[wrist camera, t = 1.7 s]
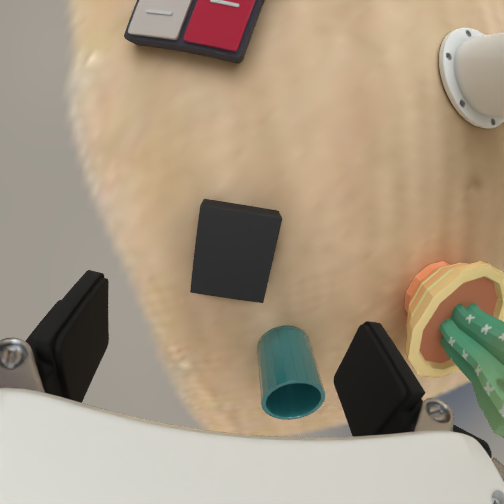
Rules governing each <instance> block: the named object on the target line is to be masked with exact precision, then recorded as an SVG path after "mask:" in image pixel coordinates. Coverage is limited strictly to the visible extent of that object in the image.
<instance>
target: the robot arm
mask: <svg viewBox="0 0 504 504" xmlns="http://www.w3.org/2000/svg"><path fill="white" fill-rule="evenodd" d="M439 69H440V75H441V79H442V82H443V86H444V88H445V91H446V93H447V96H448V98H449V99H450V101H451V103H452V105H453V106H454V107H455V109H456V110H457V111H458V113H459V114H460V115H461V116H462V117H463V118H464V119H465V120H466V121H468V122H469V123H471V124H472V125H475V126H477V127H481V128H495V127H498V126H499V125H501V124H502V123H503V122H504V32H501V33H496V34H491V35H486V36H485V35H484V34H482V33H481V32H479V31H477V30H474V29H471V28H460V29H456V30H453V31H451V32H450V33H449V34H447V35H446V37H445V38H444V40H443V41H442V44H441V47H440V52H439ZM108 336H109V334H108V279H106V278H104V274H103V273H99V272H95V271H90V270H88V271H87V272H86V273H85V274H84V275H83V276H82V277H81V278H80V279H79V281H78V282H77V283H76V284H75V285H74V286H73V287H72V289H71V290H70V291H69V292H68V293H67V294H66V295H65V297H64V298H63V299H62V300H59V301H58V302H57V303H56V304H55V305H54V307H53V308H52V309H51V310H50V311H49V312H48V314H47V315H46V316H45V317H44V318H43V320H42V321H41V322H40V323H39V325H38V326H37V327H36V328H35V330H34V331H33V332H32V333H31V335H30V336H29V337H28V338H27V340H26V341H24V340H22V339H18V338H6V339H3V340H0V504H504V465H503V464H502V463H500V462H499V461H498V460H497V459H496V458H493V459H492V460H491V450H490V448H489V446H488V444H487V443H486V442H485V441H484V440H481V439H479V438H478V437H476V436H474V435H472V434H470V433H468V432H466V431H464V430H463V429H461V428H459V427H457V426H455V425H453V424H454V414H453V412H452V410H451V408H450V407H449V406H448V405H447V404H446V403H444V402H443V401H441V400H439V399H436V398H428V399H426V400H424V402H423V401H422V399H421V398H422V397H423V395H424V394H425V391H424V390H423V388H422V386H421V385H420V383H419V382H418V380H417V378H416V377H415V375H414V374H413V372H412V371H411V369H410V367H409V366H408V364H407V363H406V361H405V360H404V358H403V357H402V355H401V354H400V352H399V350H398V349H397V347H396V346H395V344H394V343H393V341H392V340H391V338H390V337H389V335H388V334H387V332H386V331H385V329H384V328H383V327H382V325H381V324H380V323H376V322H368V321H367V322H365V323H364V324H363V325H360V326H359V328H358V330H357V332H356V334H355V336H354V338H353V340H352V342H351V344H350V346H349V348H348V350H347V352H346V354H345V356H344V358H343V360H342V362H341V364H340V366H339V368H338V370H337V372H336V374H335V376H334V385H335V388H336V390H337V393H338V396H339V399H340V402H341V404H342V407H343V410H344V413H345V416H346V418H347V421H348V424H349V427H350V430H351V433H352V435H353V437H323V438H310V437H300V438H299V437H274V436H258V435H246V434H235V433H226V432H218V431H210V430H202V429H195V428H189V427H183V426H177V425H172V424H166V423H161V422H156V421H151V420H147V419H142V418H138V417H134V416H130V415H125V414H120V413H117V412H113V411H109V410H105V409H102V408H98V407H94V406H91V405H88V404H84V403H82V401H83V399H84V396H85V394H86V392H87V389H88V387H89V385H90V383H91V381H92V379H93V376H94V374H95V372H96V370H97V368H98V366H99V363H100V361H101V359H102V357H103V355H104V353H105V351H106V349H107V345H108V340H109V337H108Z"/></svg>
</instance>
